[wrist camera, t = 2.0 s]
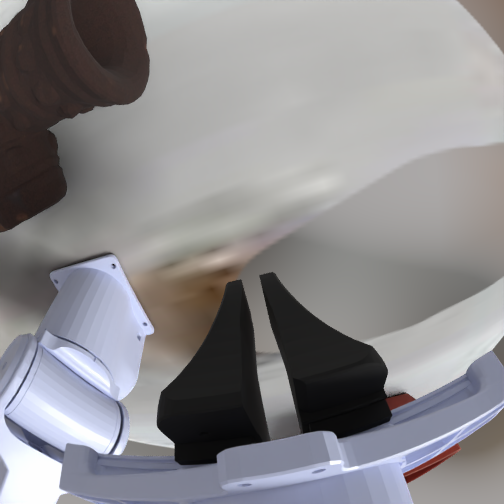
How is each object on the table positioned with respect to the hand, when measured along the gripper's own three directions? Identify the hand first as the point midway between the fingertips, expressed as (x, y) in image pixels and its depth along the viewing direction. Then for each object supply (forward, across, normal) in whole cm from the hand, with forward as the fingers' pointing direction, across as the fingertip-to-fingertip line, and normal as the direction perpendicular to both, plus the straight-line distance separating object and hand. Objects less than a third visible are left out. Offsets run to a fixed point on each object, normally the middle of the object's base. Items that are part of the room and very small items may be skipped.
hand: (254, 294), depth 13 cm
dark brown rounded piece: (+11, +11, -13) cm, 20 cm away
